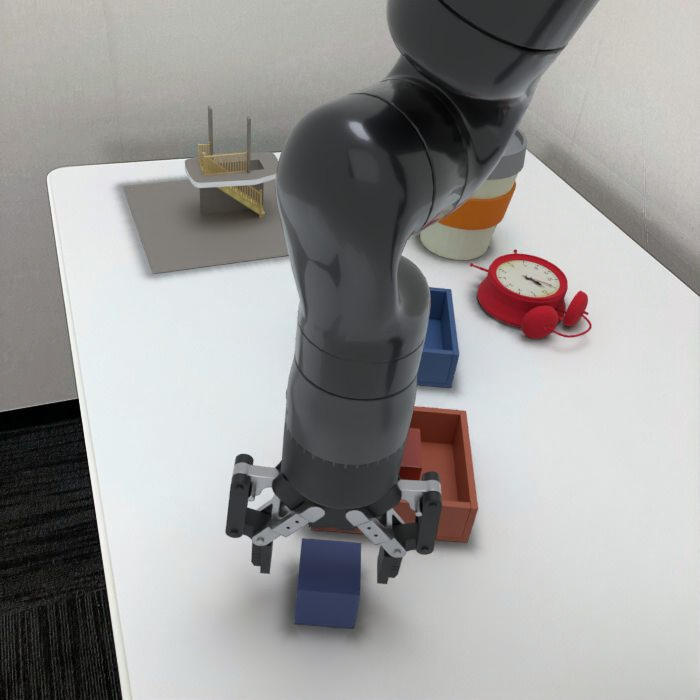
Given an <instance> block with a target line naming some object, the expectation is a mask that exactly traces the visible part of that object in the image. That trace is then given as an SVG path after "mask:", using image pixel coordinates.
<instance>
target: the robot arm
mask: <svg viewBox="0 0 700 700" xmlns="http://www.w3.org/2000/svg"><path fill="white" fill-rule="evenodd" d="M600 1H601V0H386V7H385V15H386V22H387V24H386V25H387V27H388V31H389V34H390V38H391V39H392V42H393V44H394V45H395V47H396V48H397V50H398V52H399V53H400V54H399V57H398V58H397V60H396V62H395V63H394V65H393V66H392V68H391V69H390V70H389V71H388V73H387V74H386V75H385V77H383V79H382V80H380V81H378V82H376V83H372V84H370V85H368V86H365V87H363V88H361V89H358V90H356V91H353V92H350V93H348V94H345V95H342V96H339V97H337V98H334V99H331V100H329V101H327V102H324V103H322V104H319V105H317V106H315V107H314V108H312V109H310V110H308V111H307V112H306V113H305V114H304V115H302V116H301V117H300V118H299V119H298V120H297V122H295V124H294V125H293V126H292V128H291V130H290V131H289V133H288V135H287V137H286V139H285V141H284V143H283V146H282V147H281V150H280V151H281V152H280V154H279V158H278V165H277V170H276V179H275V194H276V203H277V208H278V213H279V217H280V221H281V225H282V229H283V233H284V238H285V242H286V246H287V250H288V254H289V255H288V257H289V263H290V268H291V272H292V275H293V279H294V283H295V286H296V291H297V294H298V299H299V302H298V310H297V320H296V329H295V331H296V332H295V342H294V343H295V344H294V354H293V360H292V362H291V367H290V369H289V374H288V379H287V386H286V391H285V399H286V400H285V412H284V413H285V414H284V426H283V438H282V450H281V459H280V461H279V462H278V464H276V465H275V467H270V466H264V465H263V466H262V465H256V464H255V465H254V462H255V461H254V459H255V458H254V457H253V456H252V455H250V454H248V453H239V454H237V455H236V457H235V459H234V465H233V470H232V476H231V480H230V487H229V494H228V503H227V513H226V523H225V532H224V533H225V535H226V536H227V537H229V538H232V539H239V538H241V537H242V536H246V537H248V538H249V539H250V540H251V559H250V562H251V564H252V565H253V566H254V567H260V568H259V574H265V575H270V574H271V567H272V558H273V557H272V556H273V549H274V541H276V540H277V538H279V537H281V536H282V537H283V538H288V537H289V536H292V535H293V534H294V533H296V532H297V531H299V530H301V529H302V528H303V527H305V526H307V525H308V528H310V529H311V528H336V529H340V530H345V531H355V528H359V529H360V530H361V531H362V532H363V533H364V534H363V535H364V536H365V537H366V538H367V539H368V540H369V541H370V542H371V543H372V544H373V545H374V546H378V545H380V546H379V551H378V555H377V560H376V563H377V564H376V583H377V584H379V585H388V582H389V579H390V578H391V579H395V578H396V577H397V576H398V575H399V572H400V569H401V564H402V561H403V558H404V557H405V556H406V555H407V552H409V551H416V553H418V554H419V555H422V556H425V555H426V556H427V555H429V554H430V555H431V554H432V553H433V552H434V550H435V544H436V541H437V540H436V535H437V530H438V525H439V520H440V515H441V510H442V495H441V484H440V475H439V474H438V473H437V472H433V471H429V472H426V473H424V474H423V475H422V479H421V481H418V480H401V478H400V476H399V471H400V466H401V462H402V458H403V453H404V449H405V445H406V441H407V436H408V432H409V428H410V423H411V419H412V414H413V410H414V406H416V398H417V390H418V389H417V388H418V385H417V373H418V368H419V364H420V359H421V355H422V350H423V346H424V342H425V337H426V333H427V327H428V321H429V315H430V307H431V298H430V289H429V287H430V286H429V284H428V280H427V278H426V276H425V275H424V273H423V271H422V270H421V269H420V268H419V267H418V266H417V265H416V264H415V263H414V262H413V261H412V260H410V259H409V258H408V257H405V256H404V255H403V252H404V250H405V247H406V245H407V243H408V241H409V240H411V239H412V238H414V237H415V236H417V235H420V232H422V231H423V230H425V229H427V228H428V227H430V226H431V225H433V224H435V223H436V222H438V221H439V220H441V219H443V218H444V217H446V216H448V215H449V214H451V213H452V212H454V211H455V210H456V209H458V208H459V207H461V206H462V205H463V204H464V203H465V202H466V201H467V200H468V199H469V198H470V197H471V196H472V195H473V194H474V193H475V192H476V191H477V190H478V189H479V188H480V186H481V185H482V184H483V183H484V182H485V180H486V179H487V178H488V177H489V175H490V174H491V173H492V171H493V170H494V168H495V167H496V166H497V164H498V163H499V161H500V159H501V158H502V156H503V154H504V153H505V151H506V149H507V147H508V146H509V144H510V142H511V140H512V138H513V136H514V134H515V132H516V130H517V128H519V126H520V124H521V122H522V120H523V118H524V116H525V114H526V112H527V110H528V108H529V106H530V105H531V103H532V100H533V98H534V94H535V92H536V90H537V88H538V84H539V82H540V80H541V78H542V77H543V75H544V74H545V73H546V72H547V71H548V69H549V68H550V67H551V66H552V65H553V63H554V62H555V61H556V60H557V58H558V57H559V56H560V55H561V54H562V52H563V51H564V50H565V49H566V47H567V46H568V45H569V43H570V41H572V39H573V37H574V36H575V35H576V34H577V32H578V31H579V30H580V29H581V27H582V25H583V24H584V23H585V21H586V20H587V18H588V17H589V16H590V14H591V13H592V12H593V11H594V9H595V7H596V6H597V5H598V3H599V2H600ZM267 488H269V489H270V488H271V489H272V492H273V497H271V498H270V499H269V500H268V501H266V502H265V503H263V504H262V505H260V506H259V507H257V508H256V509H254V508H252V507H249V502H250V503H251V502H255V501H256V497H258V496H260V495H261V494H262V492H263V491H264V490H265V489H267ZM401 499H403V500H406V501H407V502H408V503H409V506H410V508H411V509H412V510H414V511H415V515H416V516H415V522H414V523H406V524H405V522H404V521H403V520H402V518H401V517H400V516H399V515H398V514H397V513H396V512H395V511H394V509H393V507H395V506H396V505H397V504H398V503H399V502H400V500H401Z"/></svg>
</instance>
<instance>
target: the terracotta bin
mask: <svg viewBox="0 0 700 700" xmlns="http://www.w3.org/2000/svg"><path fill="white" fill-rule="evenodd" d="M410 428H416V429H420V438H421V455H422V471H421V475H420V479H419V481H421V479H422V475H423V474H424V473H426V472H429V471H433V472H437V473H438V474H439V475H440V484H441V495H442V510H441V515H440V520H439V525H438V530H437V535H436V540H435V541H447V542H457V543H458V542H460V543H468V542H469V538H470V535H471V531H472V529H473V526H474V523H475V521H476V517H477V514H478V512H479V503H478V496H477V487H476V478H475V471H474V470H475V469H474V464H473V463H474V461H473V454H472V447H471V446H472V445H471V438H470V430H469V422H468V414H467V410H462V409H452V408H443V407H442V408H439V407H430V406H420V405H419V406H418V405H414V410H413V414H412V419H411V423H410ZM393 509H394V511H395V512H396V513H397V514H398V515H399V516H400V517H401V518H402V520H403V521H404V522H405V524H406V523H414V522H415V516H416V515H415V511H414V510H412V509H411V508H410V506H409V503H408V502H407V501H406V500H403V499H401V500H400V502H399V503H398V504H397V505H396V506H395V507H393ZM310 530H314V531H315V530H316V531H327V532H338V533H339V532H341V533H350V534H351V533H352V534H360V535H361V534H362V535H365V534H364V533H363V532H362V531H361V530H360V529H359V528H355V531H345V530H340V529H336V528H310Z"/></svg>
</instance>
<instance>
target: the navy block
mask: <svg viewBox="0 0 700 700" xmlns="http://www.w3.org/2000/svg"><path fill="white" fill-rule="evenodd" d="M361 576H362V543H361V542H355V541H342V540H330V539H320V538H319V539H318V538H307V537H302V538H301V543H300V555H299V565H298V574H297V584H296V585H297V586H296V587H297V588H296V595H295V596H296V597H295V609H294V619H293V624H294V625H301V626H317V627H329V628H342V629H355V624H356V620H357V615H358V609H359V603H360V598H361V581H362V580H361V578H362V577H361Z"/></svg>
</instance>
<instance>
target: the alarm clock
mask: <svg viewBox="0 0 700 700" xmlns="http://www.w3.org/2000/svg"><path fill="white" fill-rule="evenodd" d="M512 252H513V253H507V254H503V255H500V256H498V257H497V258H495V259H493V261H492V262H491V264H489V267H488V269H487V268H484V267H483V266H478V265H475V264H474V263H473V262H470V264H469V267H471V268H472V267H474V268H476V269H478V270H480V271H483V272H486V273H487V275H486V276H485V278H484V279H483V280H482V281H481V282H480V283H479V285H478V287H477V288H478V289H477V294H476V295H477V299H478V302H479V304H480V306H481V307H482V308H483V310H484V311H485V312H486V313H487V314H489V315H490V316H491V317H493V318H494V319H496V320H498V321H500V322H502V323H505V324H507V325H509V326H513V327H517V328H520V329H521V332H522V333H523V335H524V336H526V337H527V338H529V339H534V340H538V339H543V338H546V337H548V336H549V335H551V334H552V333H553V334H555V335H558V336H560V337H562V338H570V339H571V338H578V337H581V336H584V335H585V334H587V333H588V332H590V331H591V329H592V326H593V325H592V322H591V321H590V320H589V318H587V316H588V315H589V314H590V313H589V312H587V311H586V310H587V308H588V304H589V296H588V294H587V293H586V292H584V291H583V290H579V291H578V292H576V294H575V295H574V296H573V297H572V299H571V301H570V303H569V305H568V307H566V306H567V305H566V302H565V297H566V294H567V292H568V289H569V285H568V278H567V276H566V274H565V273H564V272H563V271H562V269H561V268H560V267H559V266H557V265H556V264H554V263H552V262H550V261H549V260H547V259H544V258H542V257H540V256H536V255H532V254H528V253H518V250H517V249H513V251H512ZM582 318H583V319H584V320H585V321H586V322H587V324H588V328H586V330H584V331H582V332H579V333H576V334H570V335H569V334H564V333H562V332H558V331H557V330H556V329H557V326H558V323H560V322H562V324H563V325H564V326H566V327H574V326H575V325H577V323H578V322H579V321H580V320H581V319H582Z"/></svg>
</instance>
